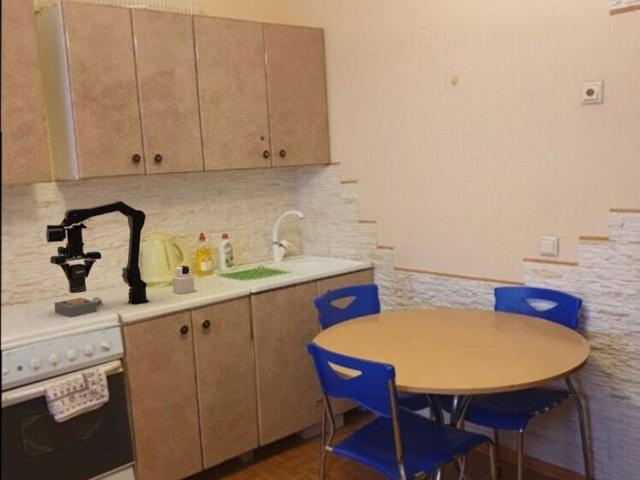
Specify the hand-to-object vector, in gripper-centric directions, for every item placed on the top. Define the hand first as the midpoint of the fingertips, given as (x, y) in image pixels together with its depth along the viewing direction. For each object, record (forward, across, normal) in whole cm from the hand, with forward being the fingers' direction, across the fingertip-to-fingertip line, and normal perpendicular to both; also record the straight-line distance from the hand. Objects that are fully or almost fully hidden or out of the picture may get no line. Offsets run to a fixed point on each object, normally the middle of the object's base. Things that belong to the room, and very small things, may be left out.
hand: (77, 278), depth 246 cm
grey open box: (+13, +2, 0) cm, 14 cm away
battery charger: (+6, 0, 0) cm, 6 cm away
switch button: (+11, +2, 0) cm, 11 cm away
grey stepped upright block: (+13, -47, +3) cm, 49 cm away
